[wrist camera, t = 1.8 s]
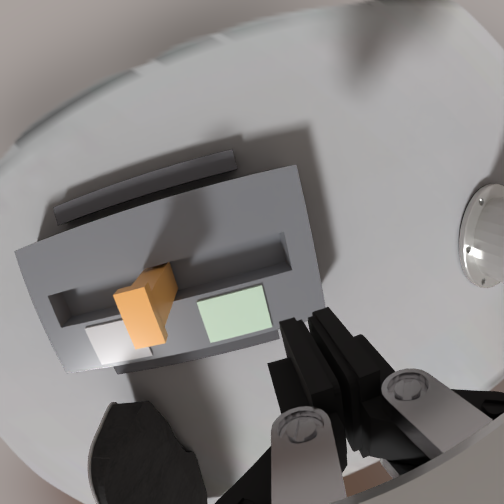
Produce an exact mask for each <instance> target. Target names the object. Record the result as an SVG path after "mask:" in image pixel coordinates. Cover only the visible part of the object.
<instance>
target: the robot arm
mask: <svg viewBox="0 0 504 504" xmlns="http://www.w3.org/2000/svg"><path fill="white" fill-rule="evenodd" d="M459 254H460V262H461V265H462V269H463V271H464V273H465V275H466V277H467V278H468V279H469V281H470V282H472V283H473V284H475V285H477V286H479V287H481V288H490V287H493V286H495V285H497V284H499V283H500V282H502V283H504V185H500V184H488V185H485V186H483V187H482V188H480V189H479V190H478V191H477V192H476V193H475V194H474V196H473V197H472V199H471V200H470V202H469V204H468V206H467V208H466V211H465V214H464V217H463V220H462V224H461V229H460V237H459ZM308 324H309V329H310V332H309V331H308V329H307V327H306V325H305V324H304V322H303V320H302V319H301V320H298V321H297V320H296V318H295V317H293V318H290V319H286V320H283V321H279V325H280V330H281V334H282V338H283V342H284V346H285V351H286V355H287V358H285V359H282V360H278V361H275V362H271V363H267V364H268V367H269V371H270V375H271V378H272V382H273V386H274V389H275V393H276V396H277V400H278V403H279V407H280V411H281V415H280V416H279V417H278V418H277V419H276V420H275V421H274V423H273V425H272V429H271V446H270V448H269V449H268V450H267V451H266V452H265V453H264V454H263V455H262V456H261V457H260V458H259V459H258V461H257V462H256V463H255V464H254V465H253V466H252V467H251V468H250V469H249V470H248V471H247V472H246V473H245V474H244V475H243V476H242V477H241V478H240V479H239V480H238V481H237V482H236V483H235V484H234V485H233V486H232V487H231V488H230V489H229V490H228V491H227V492H226V493H225V494H224V495H223V496H222V497H221V498H219V499H218V500H217V502H216V503H215V504H504V393H502V392H495V391H471V390H455V389H449V388H448V387H447V386H445V385H444V384H443V383H441V382H440V381H438V380H437V379H436V378H434V377H433V376H431V375H430V374H429V373H427V372H425V371H423V370H419V369H403V370H399V371H397V372H395V371H394V370H393V368H392V367H391V366H390V365H389V364H388V363H387V362H386V360H385V359H384V358H383V357H382V356H381V355H380V354H379V353H378V351H377V350H376V349H375V348H374V347H373V346H372V345H371V343H370V342H369V341H368V340H367V339H366V338H365V337H364V336H363V335H361V334H360V335H357V336H354V337H353V336H352V335H351V334H350V332H349V331H348V330H347V329H346V327H345V326H344V325H343V324H342V323H341V321H340V320H339V319H338V318H337V317H336V315H335V314H334V313H333V312H332V311H331V310H330V308H329V307H326V308H323V309H320V310H317V311H313V312H312V316H311V317H308ZM346 438H347V440H348V442H349V444H350V446H351V448H352V450H353V451H354V452H355V451H357V450H359V451H360V453H361V455H362V457H363V458H365V457H367V456H372V457H376V458H380V462H381V464H382V466H383V467H384V468H385V469H386V471H387V472H388V473H389V474H390V475H391V477H392V478H393V479H392V480H390V481H388V482H385V483H383V484H381V485H378V486H376V487H373V488H371V489H368V490H366V491H363V492H361V493H358V494H355V495H353V496H350V497H347V496H346V492H345V486H344V481H343V477H342V472H343V471H344V469H345V468H346V466H347V445H346Z"/></svg>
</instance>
